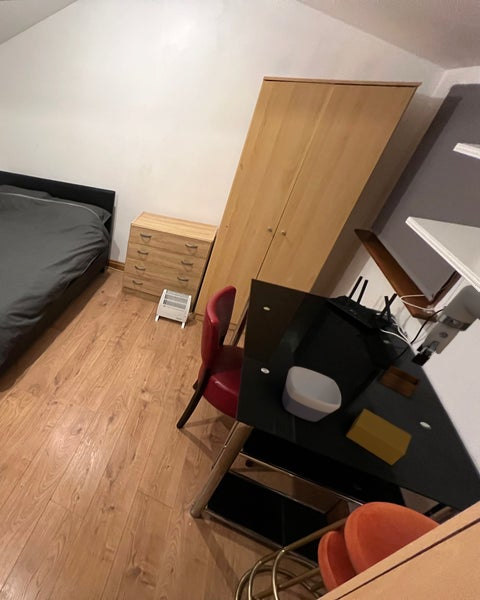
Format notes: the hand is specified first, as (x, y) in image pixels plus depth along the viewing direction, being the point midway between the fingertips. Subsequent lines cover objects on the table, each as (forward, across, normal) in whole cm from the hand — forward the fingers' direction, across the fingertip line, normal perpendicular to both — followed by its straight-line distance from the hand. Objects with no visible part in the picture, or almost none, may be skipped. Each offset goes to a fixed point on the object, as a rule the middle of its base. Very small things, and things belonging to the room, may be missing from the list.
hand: (419, 358), depth 116 cm
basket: (+14, 0, 0) cm, 15 cm away
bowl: (+15, -43, +19) cm, 49 cm away
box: (+14, -38, -1) cm, 41 cm away
